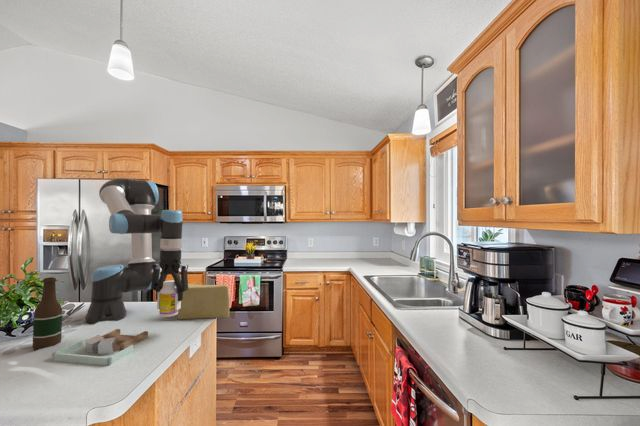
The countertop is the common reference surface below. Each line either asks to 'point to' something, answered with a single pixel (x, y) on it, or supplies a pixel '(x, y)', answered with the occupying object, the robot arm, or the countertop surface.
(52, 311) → the beer bottle
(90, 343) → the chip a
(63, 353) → the tray
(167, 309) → the supplement bottle
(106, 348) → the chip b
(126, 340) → the slot board
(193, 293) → the tan rectangular block
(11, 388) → the countertop surface
